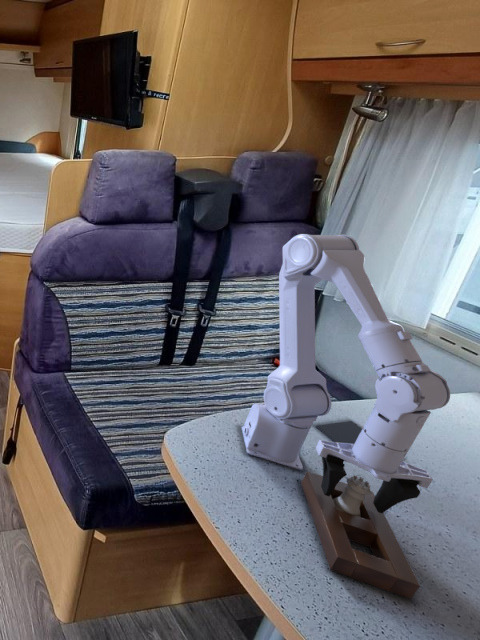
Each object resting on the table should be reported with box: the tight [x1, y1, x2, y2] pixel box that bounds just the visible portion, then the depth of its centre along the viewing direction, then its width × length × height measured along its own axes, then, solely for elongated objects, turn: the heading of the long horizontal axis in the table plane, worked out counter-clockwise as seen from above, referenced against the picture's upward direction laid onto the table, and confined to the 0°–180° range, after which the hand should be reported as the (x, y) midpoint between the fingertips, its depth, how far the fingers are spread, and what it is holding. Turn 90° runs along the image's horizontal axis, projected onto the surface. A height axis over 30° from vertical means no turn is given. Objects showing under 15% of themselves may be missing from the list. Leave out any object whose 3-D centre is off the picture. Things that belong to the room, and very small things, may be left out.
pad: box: [315, 420, 363, 444], centre depth 96 cm, size 10×10×1 cm
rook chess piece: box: [333, 474, 372, 517], centre depth 78 cm, size 4×4×8 cm
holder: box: [300, 471, 421, 600], centre depth 75 cm, size 10×17×3 cm, turn 158°
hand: (351, 499), depth 78 cm, fingers open, 7 cm apart
